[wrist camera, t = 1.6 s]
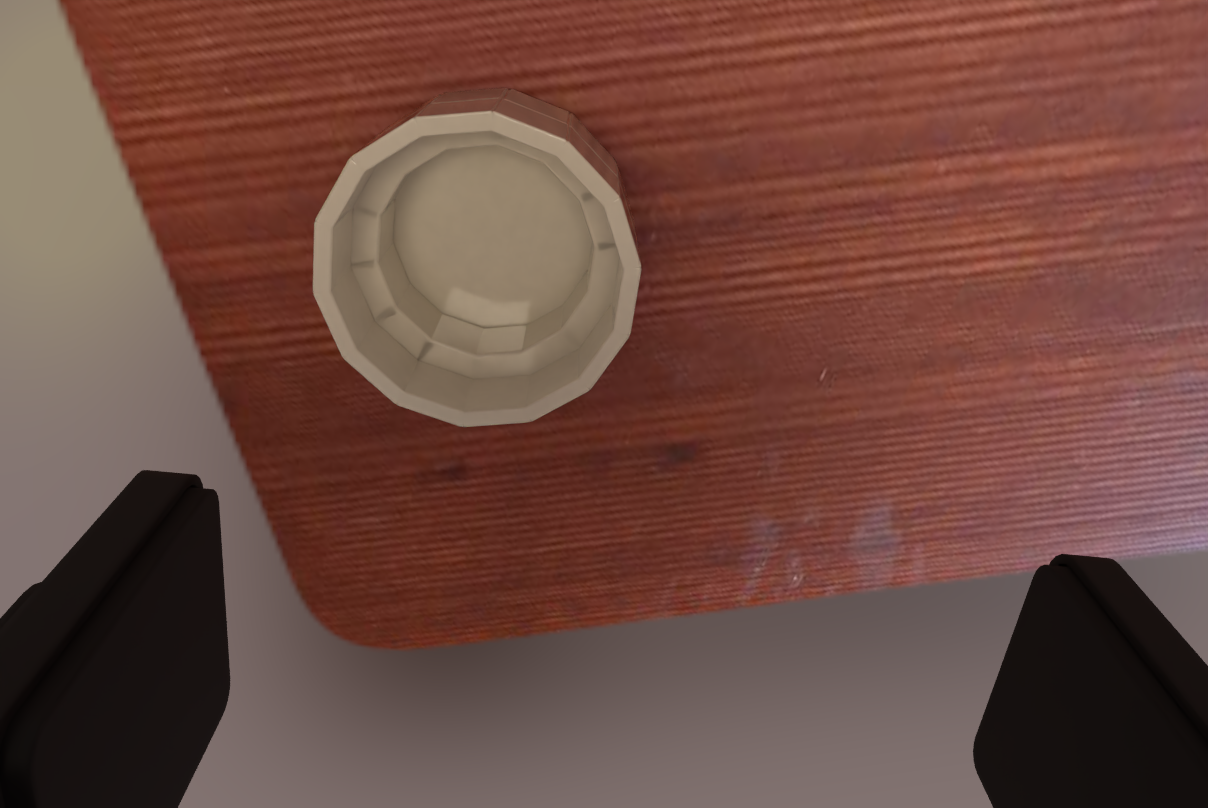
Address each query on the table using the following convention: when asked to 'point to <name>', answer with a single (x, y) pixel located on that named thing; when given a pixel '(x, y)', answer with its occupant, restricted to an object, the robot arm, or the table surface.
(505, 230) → the bowl
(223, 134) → the table surface
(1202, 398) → the table surface
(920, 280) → the table surface
